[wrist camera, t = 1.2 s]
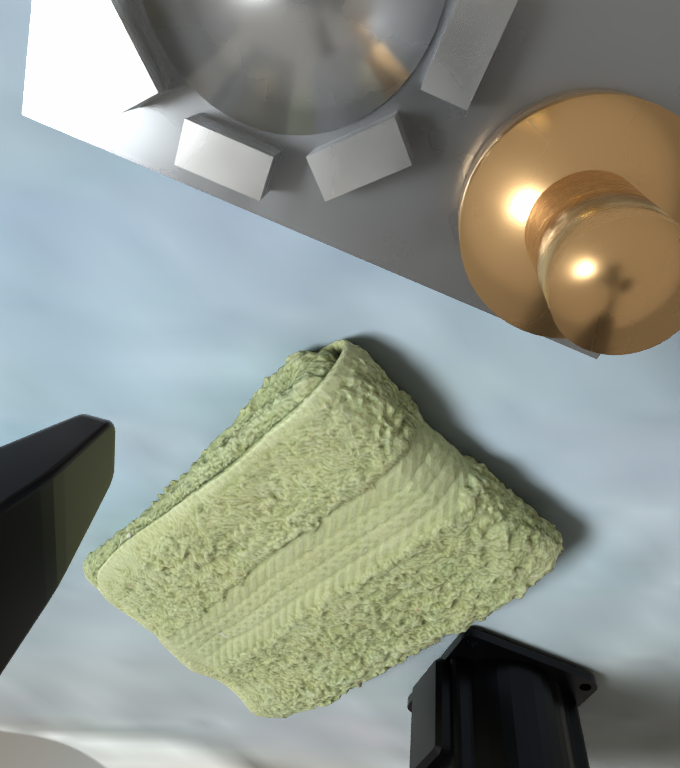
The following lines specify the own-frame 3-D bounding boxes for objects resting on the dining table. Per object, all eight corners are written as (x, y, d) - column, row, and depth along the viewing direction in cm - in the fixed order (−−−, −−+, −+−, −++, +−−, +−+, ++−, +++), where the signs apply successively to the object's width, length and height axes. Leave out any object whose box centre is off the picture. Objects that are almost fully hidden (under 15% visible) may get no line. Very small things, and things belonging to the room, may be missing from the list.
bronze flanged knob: (747, 147, 15) (891, 206, 10) (606, 345, 18) (665, 460, 13) (528, 46, 15) (572, 57, 10) (421, 266, 18) (415, 355, 13)
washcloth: (82, 548, 29) (44, 604, 26) (334, 302, 21) (318, 345, 18) (293, 691, 32) (279, 753, 29) (580, 527, 24) (599, 592, 21)
